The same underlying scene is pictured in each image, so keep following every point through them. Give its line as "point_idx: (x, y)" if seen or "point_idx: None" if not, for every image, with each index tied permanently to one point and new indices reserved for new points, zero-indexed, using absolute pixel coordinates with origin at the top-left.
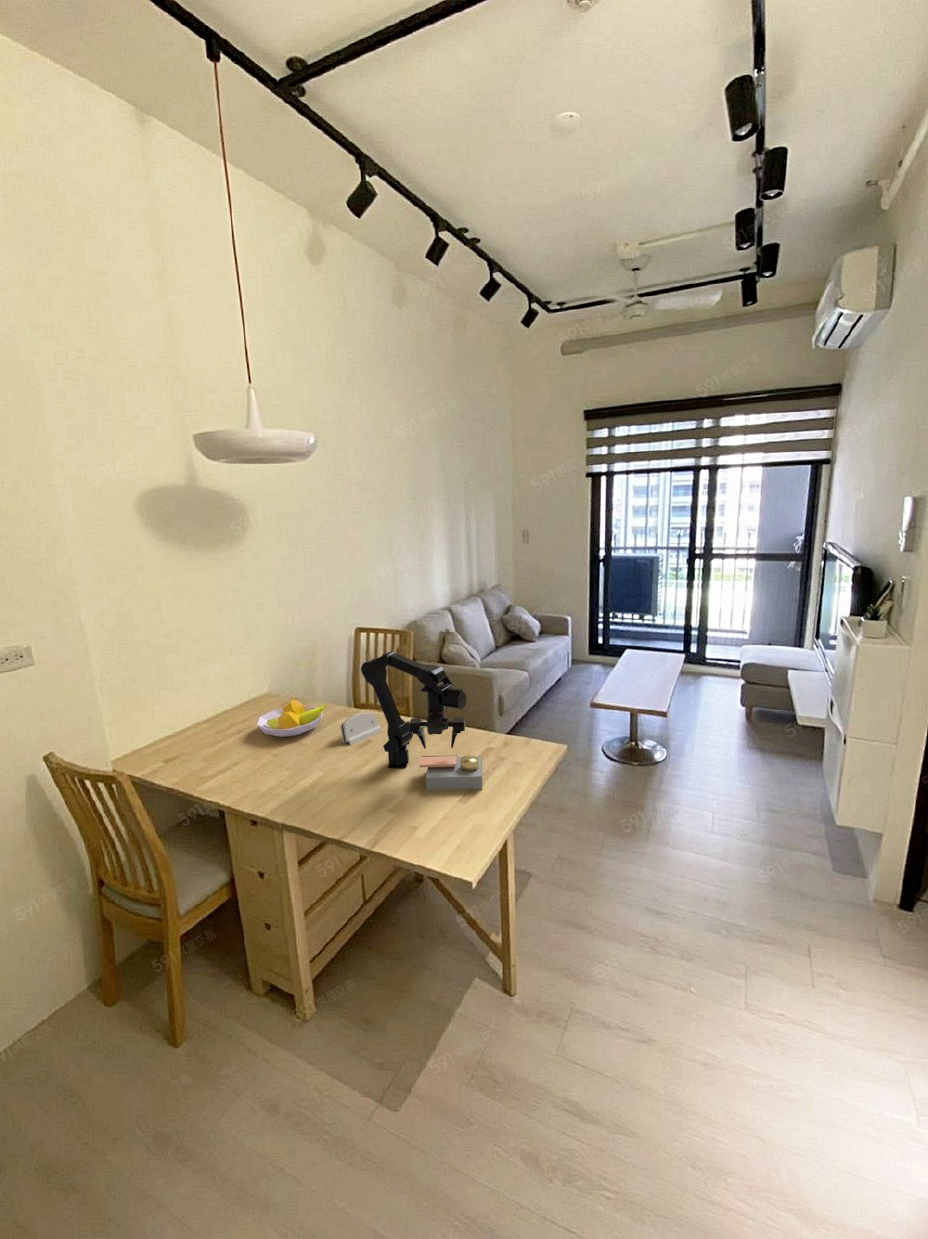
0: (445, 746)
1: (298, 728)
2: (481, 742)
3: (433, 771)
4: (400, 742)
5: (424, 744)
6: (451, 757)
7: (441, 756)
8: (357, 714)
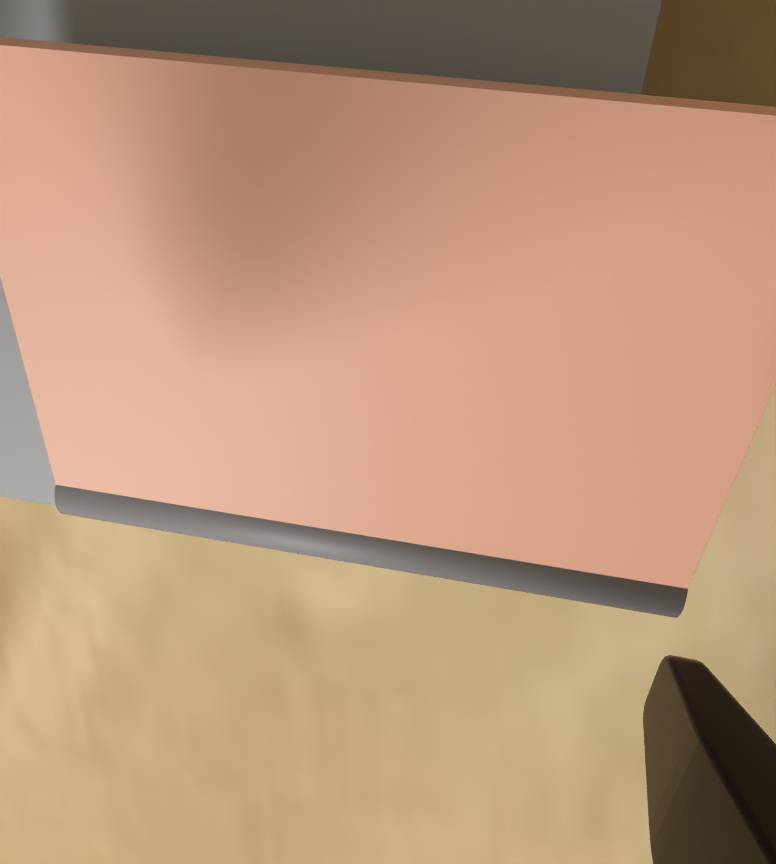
0: (344, 859)
1: None
2: (30, 828)
3: (501, 7)
4: None
5: (730, 766)
6: (131, 443)
7: (319, 525)
8: None
